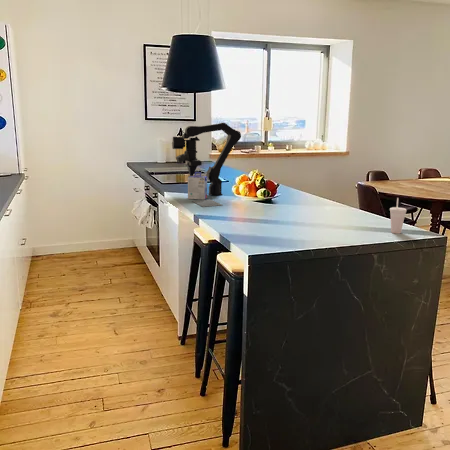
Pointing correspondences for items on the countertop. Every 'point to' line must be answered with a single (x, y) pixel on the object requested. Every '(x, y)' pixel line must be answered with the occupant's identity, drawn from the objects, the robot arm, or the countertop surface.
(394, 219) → the smoothie
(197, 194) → the ink cartridge box
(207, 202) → the mat
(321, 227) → the countertop surface
